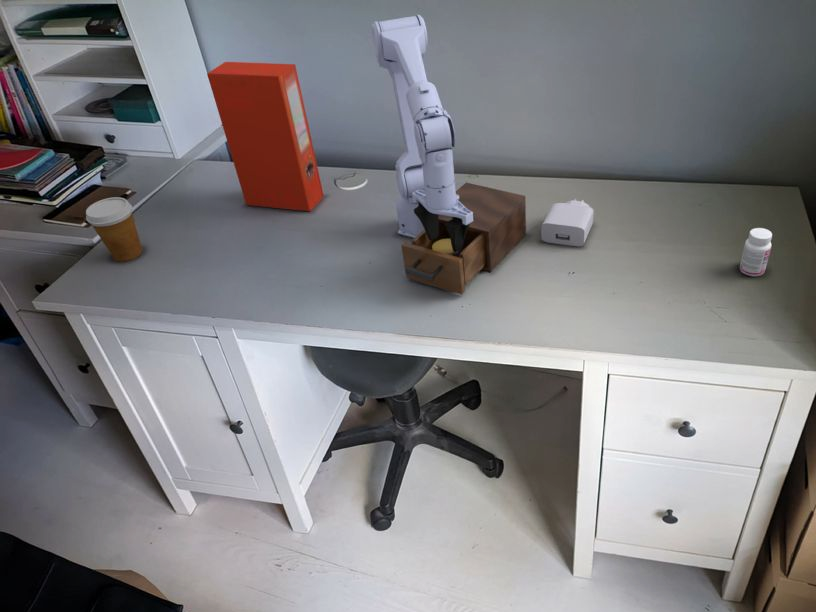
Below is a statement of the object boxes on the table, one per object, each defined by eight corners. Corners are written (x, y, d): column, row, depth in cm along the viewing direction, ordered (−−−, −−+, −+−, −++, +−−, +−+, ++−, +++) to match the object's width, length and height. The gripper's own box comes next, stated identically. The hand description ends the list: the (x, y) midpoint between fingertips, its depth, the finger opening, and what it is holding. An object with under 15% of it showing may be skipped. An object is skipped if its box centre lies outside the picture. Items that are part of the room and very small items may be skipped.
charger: (598, 212, 159) (583, 247, 149) (558, 207, 162) (541, 241, 151) (600, 193, 156) (584, 228, 145) (559, 188, 159) (541, 222, 148)
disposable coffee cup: (158, 246, 161) (139, 200, 153) (127, 269, 154) (105, 221, 146) (128, 239, 164) (107, 193, 156) (96, 261, 158) (73, 214, 150)
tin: (447, 278, 140) (445, 256, 137) (428, 268, 143) (426, 247, 140) (466, 265, 143) (465, 244, 140) (447, 256, 146) (445, 235, 143)
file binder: (262, 190, 178) (225, 60, 157) (324, 195, 174) (294, 63, 153) (246, 206, 172) (206, 74, 151) (309, 212, 168) (277, 77, 147)
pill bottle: (765, 278, 136) (774, 241, 131) (739, 275, 137) (747, 238, 132) (764, 264, 140) (774, 227, 134) (739, 262, 141) (747, 225, 135)
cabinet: (490, 272, 144) (488, 231, 138) (431, 255, 150) (426, 215, 144) (526, 235, 154) (525, 195, 147) (468, 220, 160) (466, 182, 154)
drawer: (450, 307, 135) (446, 274, 129) (393, 289, 140) (387, 256, 135) (498, 257, 146) (496, 224, 141) (444, 242, 152) (440, 210, 147)
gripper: (482, 184, 128) (486, 247, 137) (427, 162, 137) (434, 223, 145) (455, 199, 125) (461, 263, 134) (401, 176, 133) (409, 238, 142)
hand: (445, 243), depth 139 cm, fingers open, 6 cm apart
